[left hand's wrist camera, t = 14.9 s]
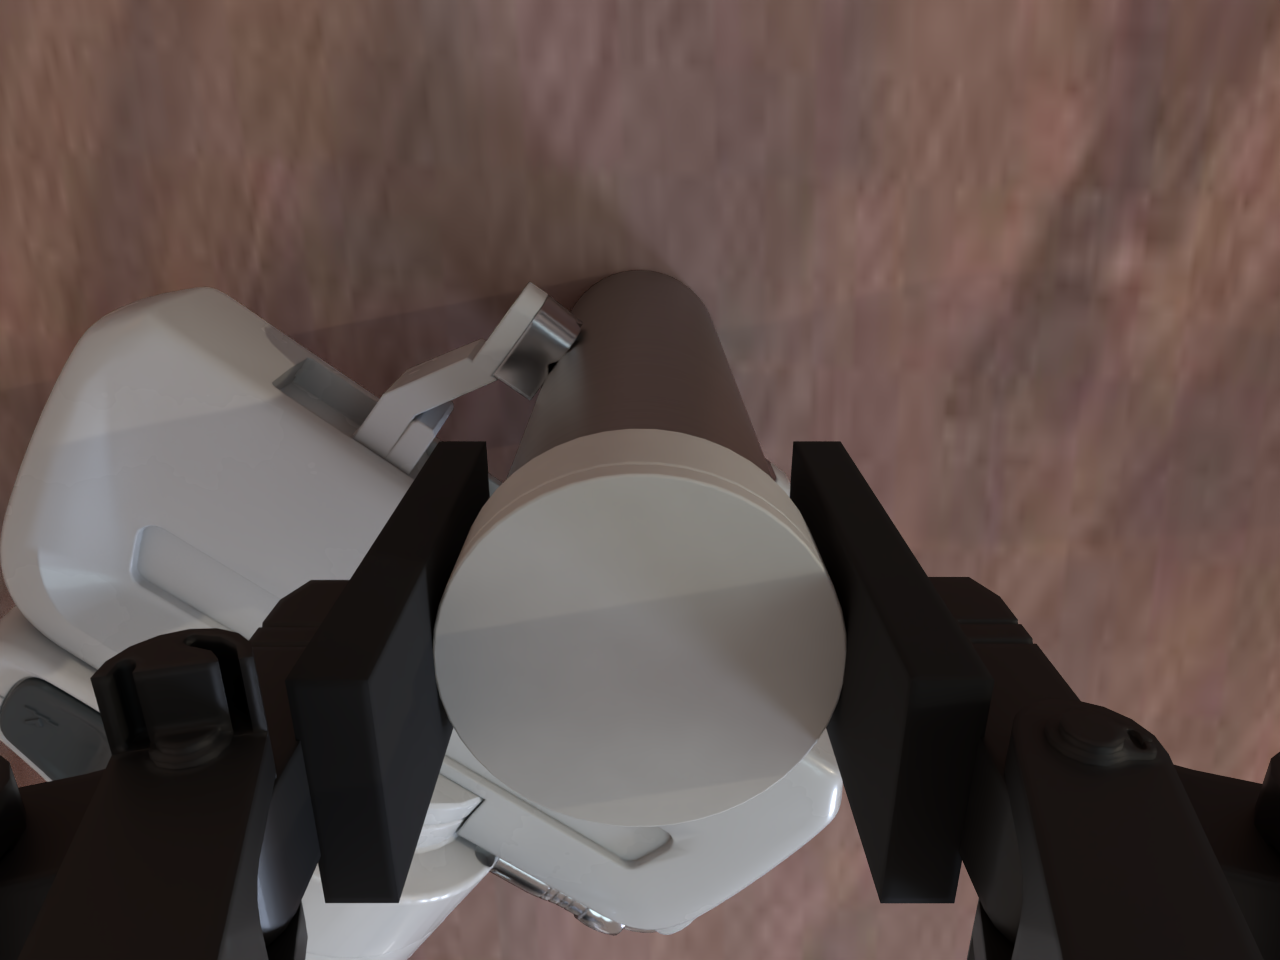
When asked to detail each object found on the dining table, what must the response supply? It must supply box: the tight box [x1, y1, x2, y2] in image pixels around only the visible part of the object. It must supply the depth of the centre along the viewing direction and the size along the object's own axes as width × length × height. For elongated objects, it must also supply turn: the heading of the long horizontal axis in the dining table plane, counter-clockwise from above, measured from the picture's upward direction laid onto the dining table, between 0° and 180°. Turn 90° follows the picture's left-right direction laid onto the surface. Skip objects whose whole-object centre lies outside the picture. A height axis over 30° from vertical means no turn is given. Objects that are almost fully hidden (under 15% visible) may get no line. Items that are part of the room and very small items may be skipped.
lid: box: [433, 429, 847, 827], centre depth 11 cm, size 5×5×2 cm
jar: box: [506, 270, 773, 480], centre depth 18 cm, size 4×4×16 cm
